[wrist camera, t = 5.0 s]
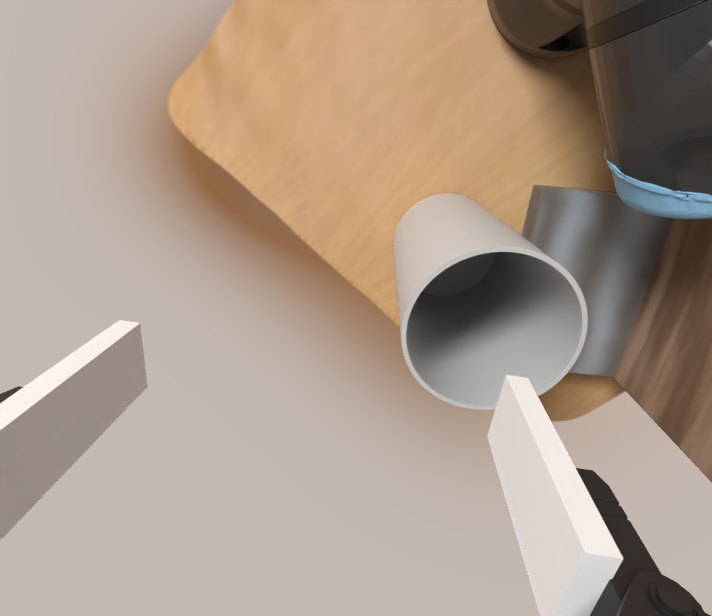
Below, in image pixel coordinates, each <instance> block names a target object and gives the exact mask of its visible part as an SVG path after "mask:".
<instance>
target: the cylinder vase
mask: <svg viewBox="0 0 712 616" xmlns="http://www.w3.org/2000/svg"><path fill="white" fill-rule="evenodd" d="M393 258H394V268H395V279H396V289H397V300H398V311H399V321H400V332H401V342H402V349H403V354H404V357H405V360H406V363H407V365H408V367H409V369H410V371H411V373H412V374H413V376H414V377H415V378H416V380H417V381H418V382H419V383H420V384H421V385H422V386H423V387H424V388H425V389H426V390H428V391H429V392H430V393H431V394H433V395H434V396H436V397H437V398H439V399H441V400H443V401H445V402H447V403H450V404H452V405H455V406H459V407H463V408H468V409H475V410H495V409H496V406H497V402H498V399H499V396H500V393H501V389H502V386H503V383H504V379H505V376H506V375H511V376H518V377H525V378H528V379H529V381H530V383H531V385H532V386H533V388H534V390H535V392H536V394H537V396H540V395H541V394H543V393H545V392H546V391H548V390H549V389H550V388H552V387H553V386H554V385H555V384H557V383H558V382H559V381H560V380H561V379H562V378H563V377H564V376H565V375H566V374H567V373H568V371H569V370H570V369H571V367H572V366H573V365H574V363H575V362H576V360H577V358H578V356H579V354H580V352H581V350H582V348H583V345H584V342H585V338H586V334H587V327H588V314H587V307H586V302H585V299H584V296H583V294H582V291H581V289H580V287H579V286H578V284H577V282H576V281H575V279H574V278H573V277H572V276H571V274H570V273H569V272H568V271H567V270H566V269H565V268H564V267H562V266H561V265H560V264H559V263H557V262H556V261H555V260H553V259H552V258H551V257H549V256H548V255H547V254H545V253H544V252H543V251H541V250H540V249H539V248H537V247H536V246H535V245H533V244H532V243H531V242H529V241H528V240H527V239H525V238H524V237H523V236H521V235H520V234H519V233H517V232H516V231H515V230H513V229H512V228H511V227H509V226H508V225H507V224H505V223H504V222H503V221H501V220H500V219H499V218H497V217H496V216H495V215H493V214H492V213H491V212H489V211H488V210H487V209H485V208H484V207H483V206H481V205H480V204H479V203H477V202H476V201H474V200H473V199H471V198H469V197H466V196H463V195H459V194H453V193H444V194H437V195H433V196H430V197H427V198H425V199H423V200H421V201H419V202H418V203H416V204H415V205H413V206H412V207H411V208H410V209H409V210H408V211H407V212H406V213H405V214H404V216H403V217H402V218H401V220H400V222H399V224H398V226H397V228H396V231H395V234H394V238H393Z"/></svg>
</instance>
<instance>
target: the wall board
mask: <svg viewBox="0 0 712 616" xmlns="http://www.w3.org/2000/svg"><path fill="white" fill-rule="evenodd" d="M522 236H523V237H524V238H525V239H527V240H528V241H529V242H531V243H532V244H533V245H535V246H536V247H537V248H539V249H540V250H541V251H543V252H544V253H545V254H547V255H548V256H549V257H551V258H552V259H553V260H555V261H556V262H557V263H559V264H560V265H561V266H562V267H564V268H565V269H566V270H567V271H568V272H569V273H570V274H571V276H572V277H573V278H574V279H575V281H576V282H577V284H578V286H579V287H580V289H581V291H582V294H583V296H584V299H585V302H586V307H587V314H588V327H587V334H586V338H585V342H584V345H583V348H582V350H581V352H580V354H579V356H578V358H577V360H576V362H575V363H574V365H573V366H572V367H571V369H570V370H569V371H568V372H569V373H579V374H589V375H599V376H608V377H613V378H614V379H615V380H616V381H617V382H618V383H619V384H620V385H621V386H622V387H623V388H624V389H625V390H626V392H627V393H628V394H629V395H630V396H631V397H632V398H633V399H634V400H635V401H636V402H637V403H638V404H639V405H640V406H641V407H642V409H643V410H644V411H645V412H646V413H647V414H648V415H649V416H650V417H651V418H652V419H653V420H654V421H655V422H656V423H657V425H658V426H659V427H661V429H662V430H663V431H664V432H665V433H666V434H667V435H668V436H669V437H670V438H671V439H672V441H673V442H674V443H675V444H676V445H677V446H678V447H679V448H680V449H681V450H682V451H683V452H684V453H685V454H686V455H687V457H688V458H689V459H691V461H692V462H693V463H694V464H695V465H696V466H697V467H698V468H699V469H700V470H701V471H702V472H703V474H704V475H705V476H706V477H707V478H708V479H709V480H710V481H711V482H712V218H708V219H678V218H667V217H660V216H654V215H650V214H646V213H643V212H640V211H638V210H635V209H633V208H631V207H630V206H628V205H627V204H626V203H624V202H623V201H622V200H621V198H620V197H619V195H618V194H617V192H607V191H596V190H585V189H574V188H563V187H552V186H541V185H534V187H533V191H532V195H531V199H530V203H529V207H528V211H527V215H526V220H525V224H524V228H523V232H522Z"/></svg>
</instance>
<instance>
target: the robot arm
mask: <svg viewBox="0 0 712 616" xmlns="http://www.w3.org/2000/svg"><path fill="white" fill-rule="evenodd" d="M487 2H488V6H489V10H490V13H491V15H492V18H493V20H494V22H495V24H496V26H497V28H498V29H499V31H500V32H501V34H502V35H503V36H504V37H505V38H506V39H507V40H508V41H509V42H510V43H511V44H512V45H513V46H515V47H516V48H517V49H519V50H521V51H523V52H525V53H527V54H530V55H532V56H536V57H542V58H559V57H565V56H569V55H572V54H575V53H578V52H580V51H583V50H585V49H588V48H589V54H590V60H591V66H592V72H593V77H594V83H595V89H596V95H597V101H598V107H599V112H600V118H601V124H602V130H603V136H604V141H605V159H606V160H607V165H608V166H609V168H610V169H611V173H612V177H613V181H614V185H615V189H616V192H617V194H618V195H619V197H620V198H621V200H622V201H623V202H624V203H626V204H627V205H628V206H630V207H631V208H633V209H635V210H638V211H640V212H643V213H646V214H650V215H654V216H660V217H667V218H678V219H708V218H712V0H487ZM146 388H147V380H146V371H145V362H144V353H143V345H142V336H141V328H140V323H136V322H129V321H121V320H119V321H118V322H116V323H115V324H113V325H112V326H111V327H109V328H108V329H106V330H105V331H103V332H102V333H100V334H99V335H98V336H96V337H95V338H93V339H92V340H90V341H89V342H88V343H86V344H85V345H83V346H82V347H80V348H79V349H77V350H76V351H75V352H73V353H72V354H71V355H69V356H68V357H66V358H65V359H63V360H62V361H60V362H59V363H57V364H56V365H55V366H53V367H52V368H50V369H49V370H48V371H46V372H45V373H43V374H42V375H40V376H39V377H37V378H36V379H35V380H33V381H32V382H30V383H29V384H27V385H26V386H24V387H16V388H14V389H11V390H9V391H7V392H4V393H2V394H0V540H1V539H2V538H3V537H4V536H5V535H6V534H7V533H8V532H9V531H10V530H11V529H12V527H13V526H14V525H15V524H16V523H17V522H18V521H19V520H20V519H21V518H22V517H23V516H24V515H25V514H26V513H27V512H28V511H29V510H30V509H31V508H32V506H34V505H35V503H36V502H37V501H38V500H39V499H40V498H41V497H42V496H43V495H44V494H45V493H46V492H47V491H48V490H49V489H50V488H51V487H52V486H53V485H54V484H55V482H57V481H58V479H59V478H60V477H61V476H62V475H63V474H64V473H65V472H66V471H67V470H68V469H69V468H70V467H71V466H72V465H73V464H74V463H75V462H76V461H77V460H78V458H79V457H80V456H81V455H82V454H83V453H84V452H85V451H86V450H87V449H88V448H89V447H90V446H91V445H92V444H93V443H94V442H95V441H96V440H97V439H98V438H99V437H100V435H102V433H103V432H104V431H105V430H106V429H107V428H108V427H109V426H110V425H111V424H112V423H113V422H114V421H115V420H116V419H117V418H118V417H119V416H120V415H121V414H122V413H123V412H124V411H125V409H126V408H127V407H128V406H129V405H130V404H131V403H132V402H133V401H134V400H135V399H136V398H137V397H138V396H139V395H140V394H141V393H142V392H143V391H144V390H145V389H146ZM487 438H488V441H489V445H490V448H491V452H492V455H493V458H494V462H495V465H496V468H497V472H498V475H499V478H500V482H501V485H502V488H503V492H504V495H505V499H506V502H507V505H508V508H509V512H510V515H511V519H512V522H513V526H514V529H515V533H516V536H517V539H518V543H519V546H520V549H521V553H522V556H523V559H524V563H525V566H526V570H527V573H528V576H529V580H530V583H531V586H532V590H533V593H534V597H535V600H536V604H537V607H538V610H539V614H540V616H710V615H708V614H706V613H705V612H704V611H703V609H702V607H701V605H700V604H699V603H698V602H697V601H696V600H695V599H694V597H693V596H692V595H691V594H690V593H689V592H688V591H687V590H685V589H684V588H683V587H681V586H680V585H679V584H678V583H677V582H675V581H673V580H671V579H669V578H667V577H665V576H663V575H662V574H661V573H660V571H659V569H658V568H657V566H656V564H655V563H654V561H653V559H652V558H651V556H650V554H649V553H648V551H647V549H646V548H645V546H644V544H643V542H642V541H641V539H640V537H639V536H638V534H637V532H636V531H635V529H634V527H633V526H632V524H631V522H630V521H628V520H627V516H626V514H625V512H624V510H623V509H622V507H621V506H619V502H618V500H617V499H616V497H615V495H614V494H613V492H612V490H611V489H610V487H609V486H608V485H607V484H606V483H605V482H604V481H603V480H602V479H601V478H600V477H599V476H598V475H597V474H596V473H595V472H594V471H592V470H585V469H578V468H575V466H574V464H573V462H572V460H571V458H570V456H569V455H568V453H567V451H566V449H565V447H564V445H563V443H562V441H561V440H560V438H559V436H558V434H557V432H556V430H555V428H554V426H553V424H552V422H551V420H550V419H549V417H548V415H547V413H546V411H545V409H544V407H543V405H542V403H541V402H540V400H539V398H538V396H537V394H536V392H535V390H534V388H533V386H532V385H531V383H530V381H529V379H528V378H525V377H518V376H511V375H506V376H505V379H504V383H503V386H502V389H501V393H500V396H499V399H498V402H497V406H496V409H495V412H494V416H493V419H492V422H491V425H490V429H489V432H488V435H487Z"/></svg>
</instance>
